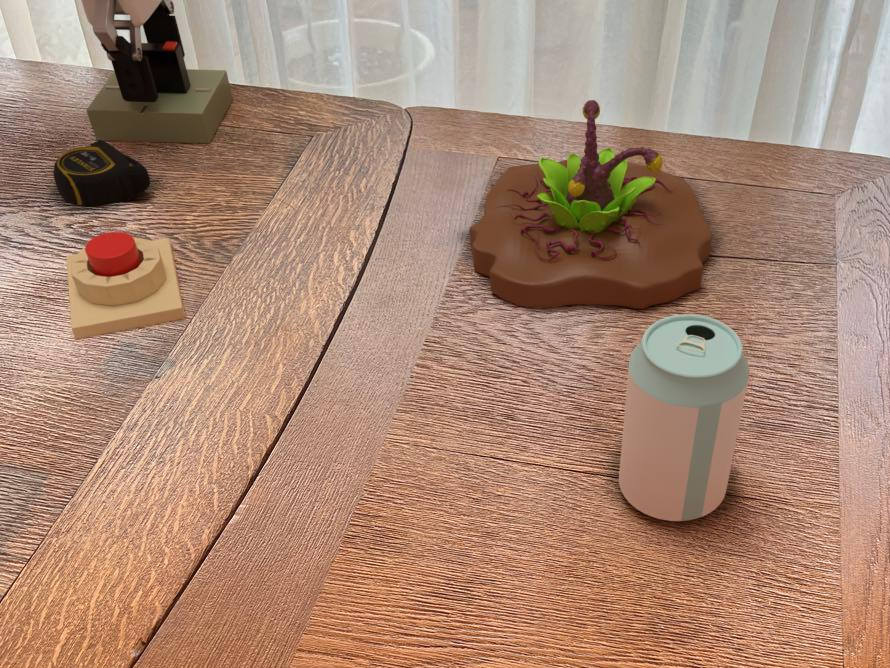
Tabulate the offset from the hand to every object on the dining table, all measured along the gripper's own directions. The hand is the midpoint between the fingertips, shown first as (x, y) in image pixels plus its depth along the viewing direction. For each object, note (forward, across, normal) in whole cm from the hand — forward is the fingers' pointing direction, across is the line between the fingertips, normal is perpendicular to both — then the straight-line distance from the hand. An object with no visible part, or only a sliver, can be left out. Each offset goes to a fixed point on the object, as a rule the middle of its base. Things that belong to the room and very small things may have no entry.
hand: (155, 78), depth 98 cm
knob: (+1, 0, 0) cm, 1 cm away
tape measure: (+4, +14, -1) cm, 15 cm away
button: (0, +30, +6) cm, 31 cm away
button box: (+4, +30, +6) cm, 31 cm away
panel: (+4, 0, 0) cm, 4 cm away
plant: (+4, +19, +42) cm, 46 cm away
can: (+4, +48, +48) cm, 68 cm away
